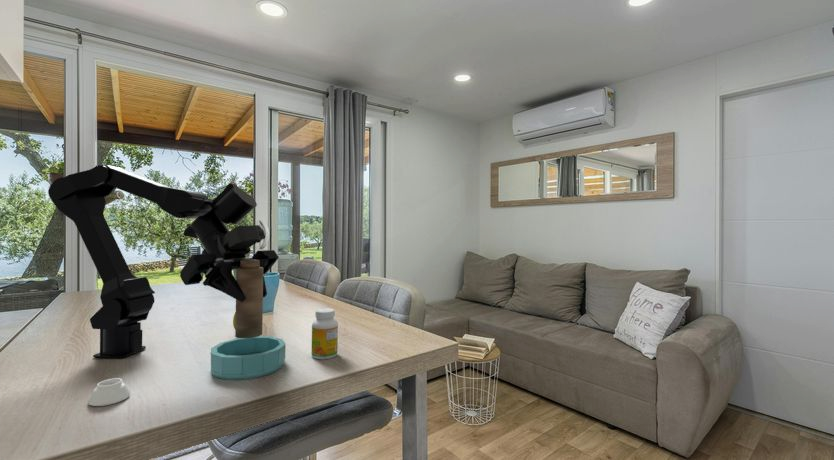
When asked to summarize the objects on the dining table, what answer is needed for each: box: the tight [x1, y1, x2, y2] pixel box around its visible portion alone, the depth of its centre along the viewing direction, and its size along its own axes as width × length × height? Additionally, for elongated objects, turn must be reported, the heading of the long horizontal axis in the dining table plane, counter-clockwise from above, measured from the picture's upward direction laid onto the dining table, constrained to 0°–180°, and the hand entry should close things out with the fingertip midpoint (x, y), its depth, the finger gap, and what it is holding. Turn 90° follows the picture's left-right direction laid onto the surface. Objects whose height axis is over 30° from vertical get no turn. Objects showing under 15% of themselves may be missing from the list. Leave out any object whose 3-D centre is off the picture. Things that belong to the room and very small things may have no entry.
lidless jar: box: [87, 377, 131, 407], centre depth 59 cm, size 5×3×5 cm
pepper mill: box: [234, 260, 264, 338], centre depth 73 cm, size 5×5×14 cm
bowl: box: [210, 335, 286, 381], centre depth 73 cm, size 13×13×4 cm
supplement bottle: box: [311, 307, 339, 360], centre depth 80 cm, size 5×5×10 cm
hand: (254, 298), depth 73 cm, fingers closed on pepper mill, 5 cm apart
